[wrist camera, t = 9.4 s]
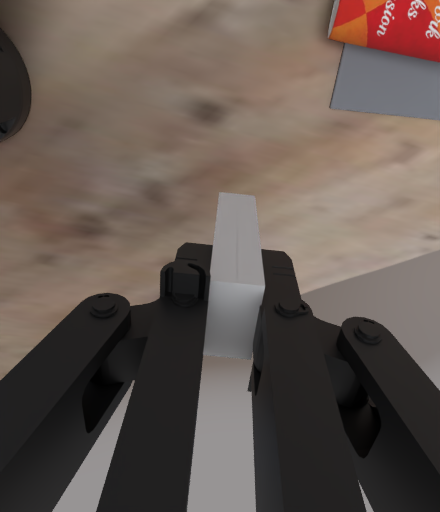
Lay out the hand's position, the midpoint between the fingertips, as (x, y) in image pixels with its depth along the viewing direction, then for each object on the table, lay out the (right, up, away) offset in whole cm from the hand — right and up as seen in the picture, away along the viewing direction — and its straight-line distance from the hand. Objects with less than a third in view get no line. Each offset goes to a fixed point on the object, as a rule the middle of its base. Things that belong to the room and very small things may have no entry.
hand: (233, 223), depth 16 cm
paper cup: (+10, +23, +20) cm, 32 cm away
